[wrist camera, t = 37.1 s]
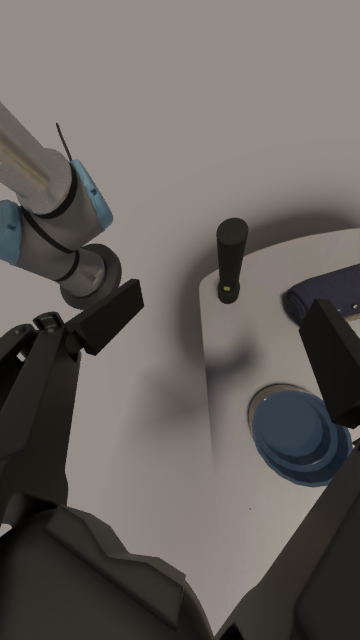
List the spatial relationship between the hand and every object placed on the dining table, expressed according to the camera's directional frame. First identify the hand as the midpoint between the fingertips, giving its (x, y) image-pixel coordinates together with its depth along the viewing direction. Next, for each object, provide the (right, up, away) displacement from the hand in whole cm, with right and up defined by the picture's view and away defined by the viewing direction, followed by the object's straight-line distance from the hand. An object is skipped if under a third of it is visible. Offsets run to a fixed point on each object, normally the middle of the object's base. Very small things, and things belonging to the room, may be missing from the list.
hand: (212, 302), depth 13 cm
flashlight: (+10, +5, +30) cm, 32 cm away
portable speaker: (+34, +3, +23) cm, 41 cm away
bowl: (+20, -23, +22) cm, 37 cm away
